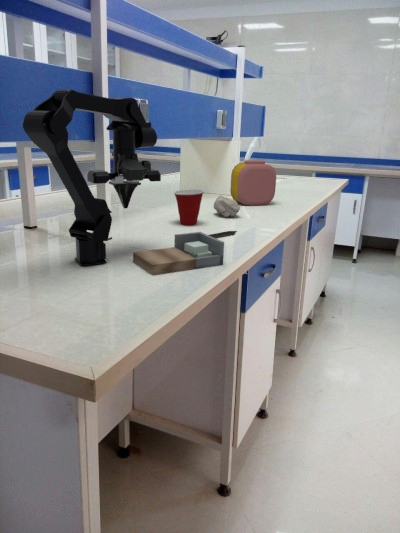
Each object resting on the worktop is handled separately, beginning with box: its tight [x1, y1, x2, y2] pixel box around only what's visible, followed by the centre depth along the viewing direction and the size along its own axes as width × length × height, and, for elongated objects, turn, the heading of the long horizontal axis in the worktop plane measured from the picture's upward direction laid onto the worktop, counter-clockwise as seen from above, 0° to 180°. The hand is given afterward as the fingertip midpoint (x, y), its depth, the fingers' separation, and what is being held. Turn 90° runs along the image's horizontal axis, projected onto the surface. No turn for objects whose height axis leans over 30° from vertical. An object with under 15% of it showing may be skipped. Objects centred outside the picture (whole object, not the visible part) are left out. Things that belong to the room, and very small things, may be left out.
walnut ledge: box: [132, 246, 197, 276], centre depth 114 cm, size 12×12×2 cm
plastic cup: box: [173, 188, 205, 226], centre depth 159 cm, size 11×11×12 cm
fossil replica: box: [213, 195, 241, 218], centre depth 176 cm, size 12×8×10 cm
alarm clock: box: [229, 159, 277, 206], centre depth 203 cm, size 18×11×19 cm, turn 108°
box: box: [173, 231, 225, 269], centre depth 118 cm, size 8×12×6 cm, turn 30°
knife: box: [208, 230, 238, 239], centre depth 143 cm, size 25×6×1 cm, turn 127°
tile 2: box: [189, 251, 212, 258], centre depth 118 cm, size 4×4×2 cm
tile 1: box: [184, 241, 208, 255], centre depth 118 cm, size 4×4×2 cm
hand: (125, 208), depth 122 cm, fingers closed
